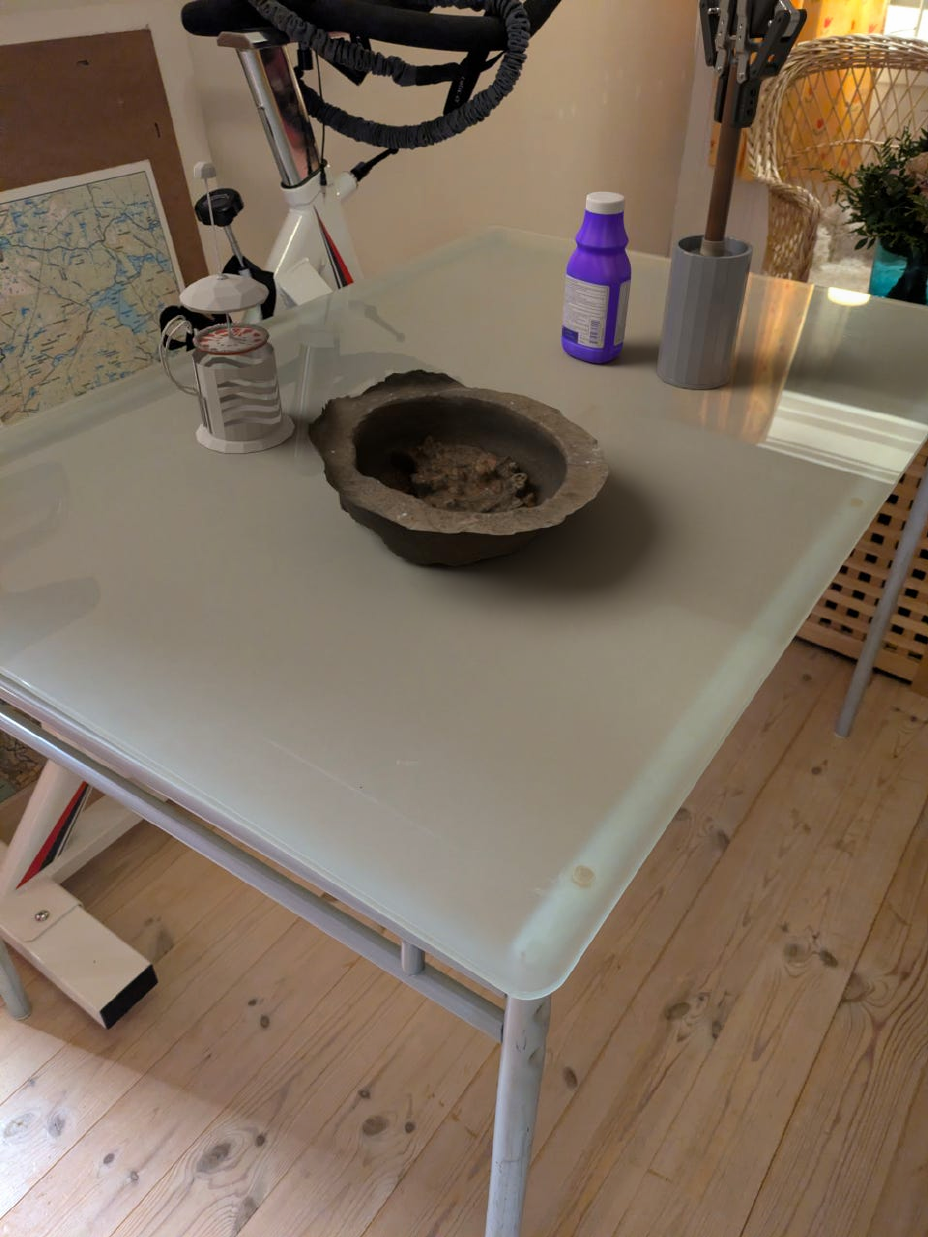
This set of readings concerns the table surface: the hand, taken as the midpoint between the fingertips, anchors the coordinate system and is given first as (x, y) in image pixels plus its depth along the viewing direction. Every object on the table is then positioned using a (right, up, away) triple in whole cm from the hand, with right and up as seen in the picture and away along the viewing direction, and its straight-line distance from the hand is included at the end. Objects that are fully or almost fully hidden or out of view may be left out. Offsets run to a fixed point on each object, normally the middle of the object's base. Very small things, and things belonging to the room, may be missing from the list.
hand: (732, 123), depth 90 cm
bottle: (-11, -17, +20) cm, 28 cm away
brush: (0, -13, +11) cm, 17 cm away
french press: (-48, -28, +5) cm, 56 cm away
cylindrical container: (0, -20, +16) cm, 25 cm away
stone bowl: (-26, -38, -7) cm, 47 cm away
